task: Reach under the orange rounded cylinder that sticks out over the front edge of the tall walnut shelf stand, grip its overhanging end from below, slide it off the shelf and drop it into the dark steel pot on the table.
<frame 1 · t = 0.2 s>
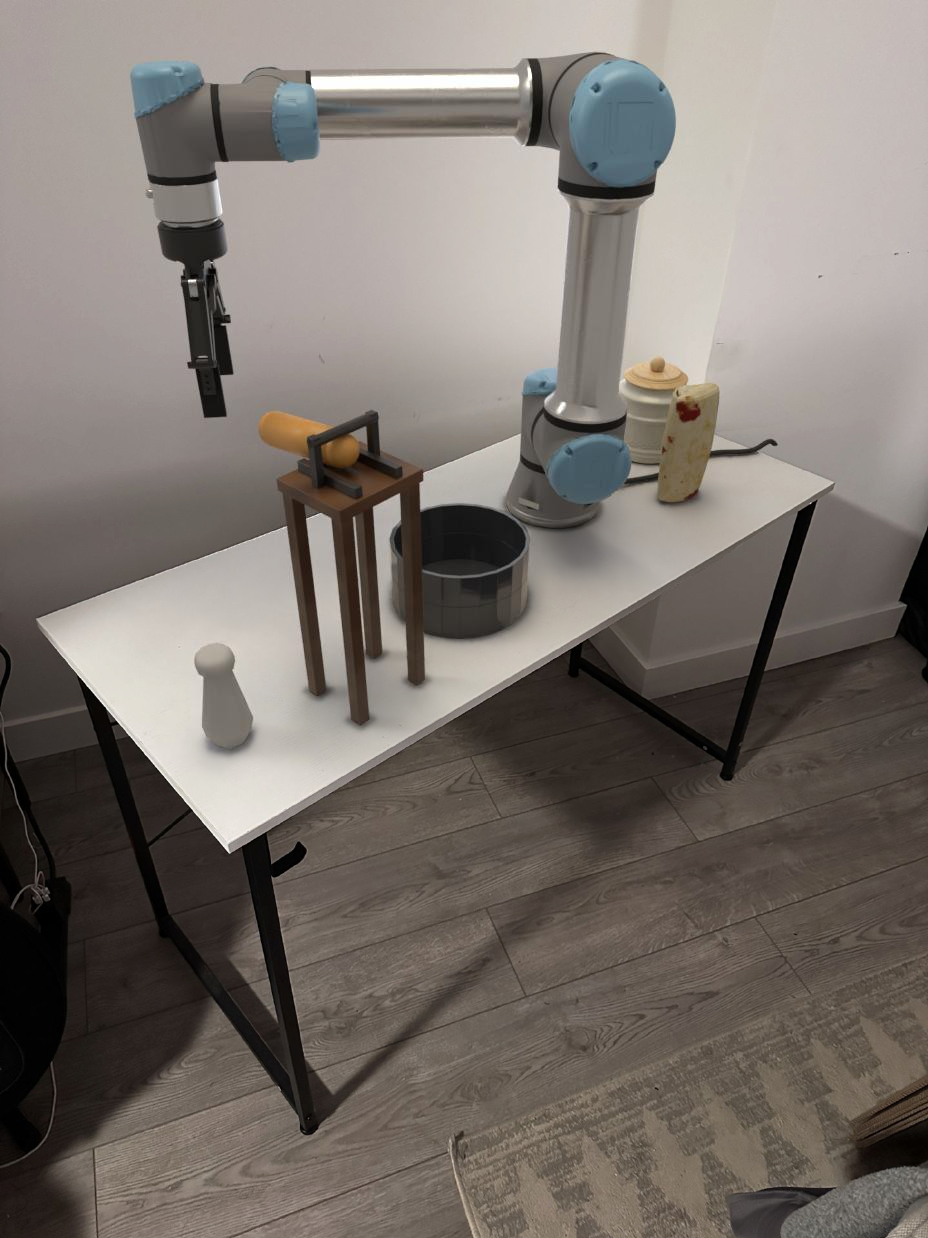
hand: (219, 394, 115), 28 cm above the table, tool pointing down, fingers open, 13 cm apart
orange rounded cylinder: (310, 455, 97), point 30 cm above the table, tilted 6°, touching shelf stand
food model: (677, 497, 151), on the table
salt shaker: (231, 737, 105), on the table
jar: (645, 450, 165), on the table
shelf stand: (367, 685, 112), on the table
pot: (459, 597, 127), on the table
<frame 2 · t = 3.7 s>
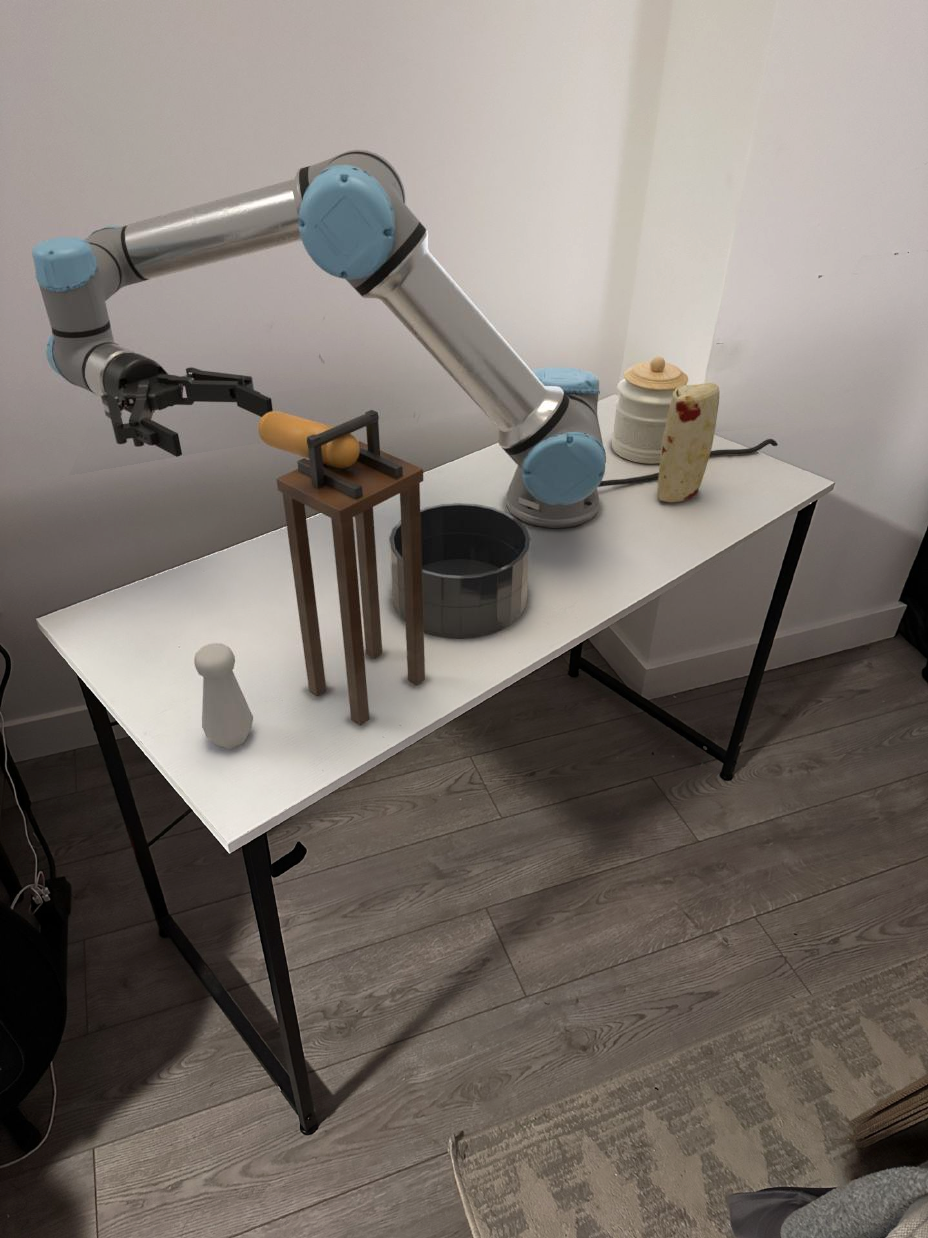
hand: (225, 426, 107), 28 cm above the table, tool horizontal, fingers open, 13 cm apart
nothing on the table moved.
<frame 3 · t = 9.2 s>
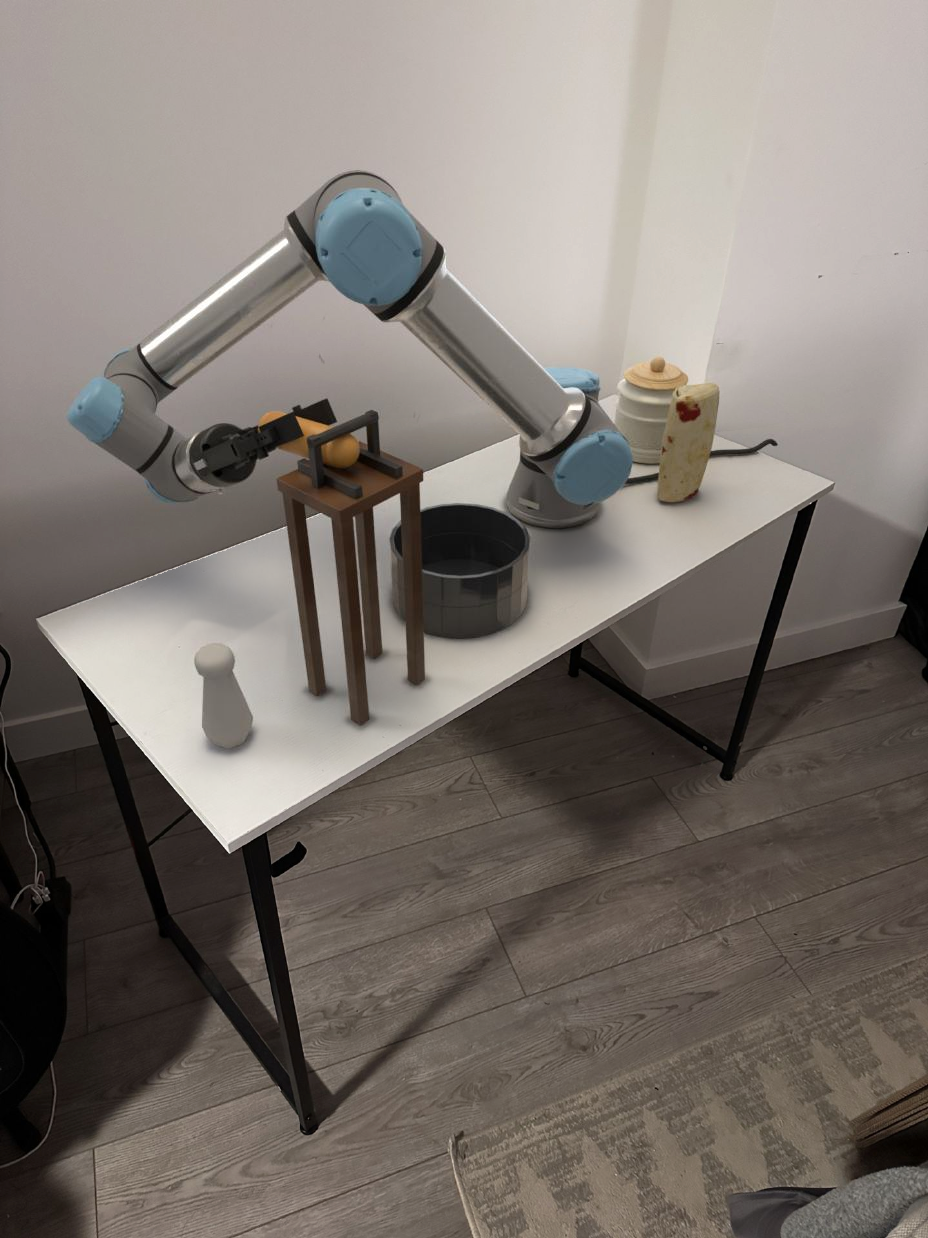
hand: (312, 417, 94), 35 cm above the table, tool pointing upward, fingers closed on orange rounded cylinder, 4 cm apart
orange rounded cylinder: (310, 455, 97), point 30 cm above the table, tilted 6°, touching gripper, shelf stand
everything else where it was.
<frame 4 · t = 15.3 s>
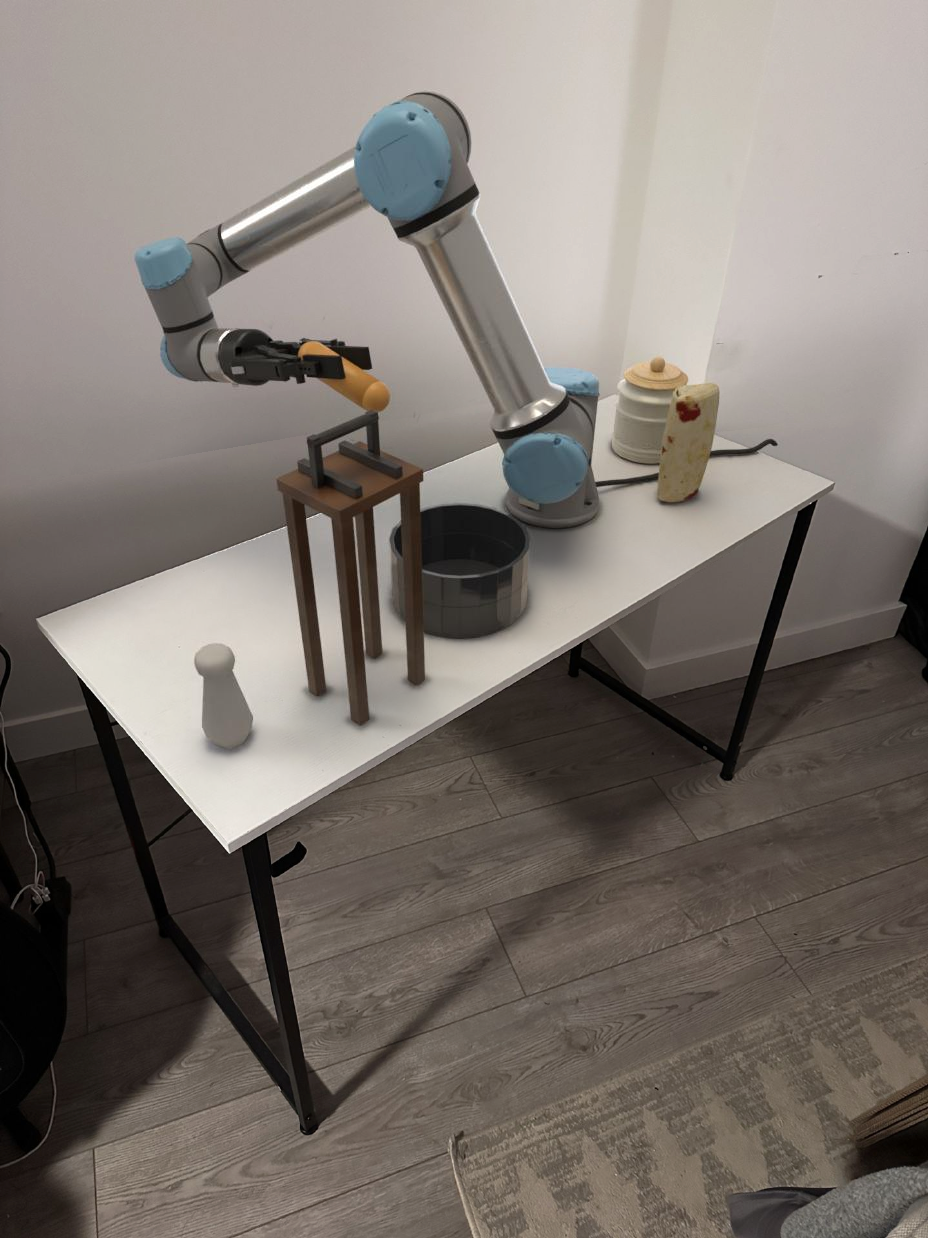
hand: (354, 362, 109), 34 cm above the table, tool horizontal, fingers closed on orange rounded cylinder, 4 cm apart
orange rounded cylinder: (341, 390, 113), point 29 cm above the table, tilted 12°, touching gripper
everything else where it was.
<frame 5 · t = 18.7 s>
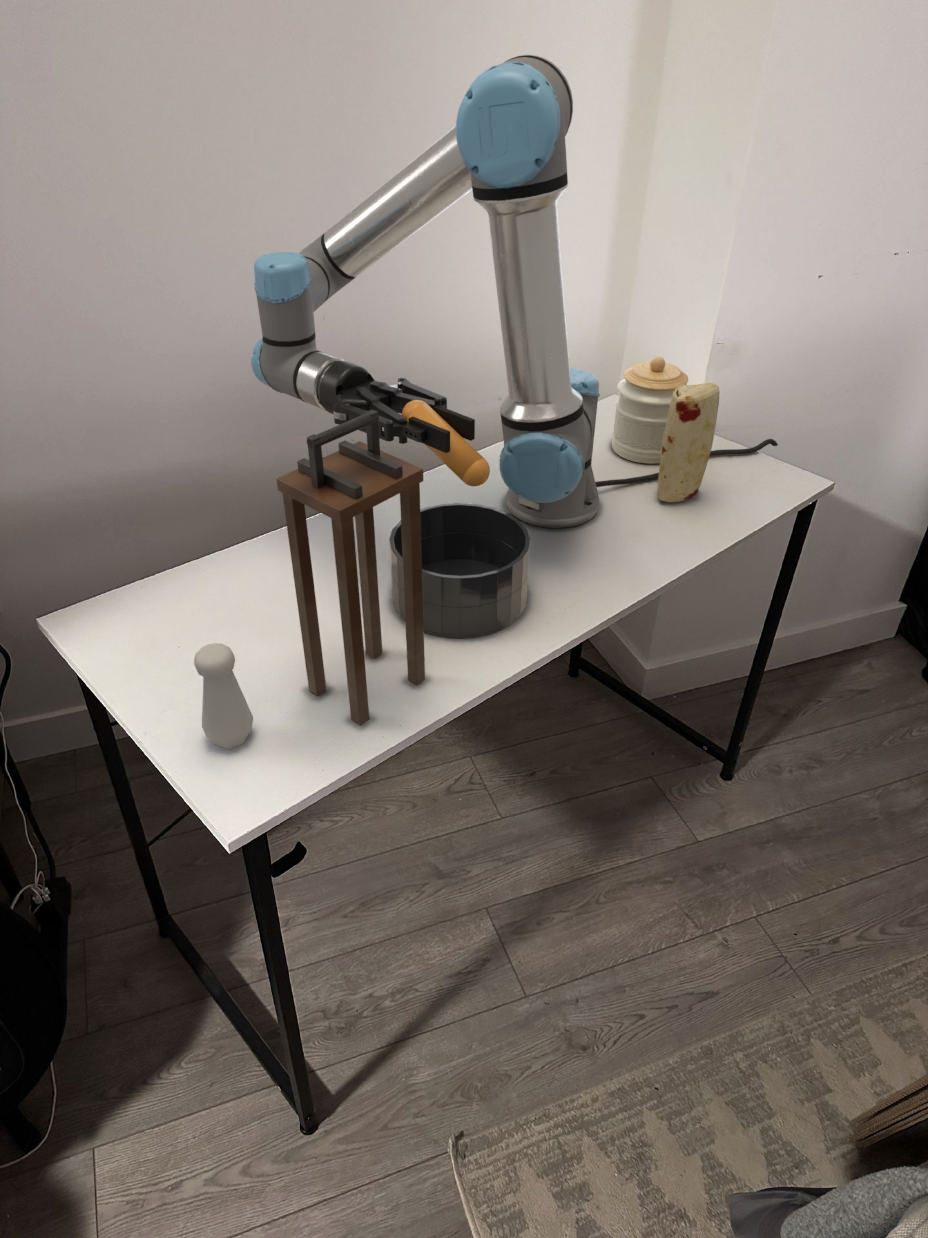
hand: (460, 436, 112), 25 cm above the table, tool horizontal, fingers closed on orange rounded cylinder, 4 cm apart
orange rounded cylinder: (440, 453, 116), point 22 cm above the table, tilted 24°, touching gripper
everything else where it was.
when the fingers open (16 cm above the table, at t = 21.8 s): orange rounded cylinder drops 11 cm, resting on pot.
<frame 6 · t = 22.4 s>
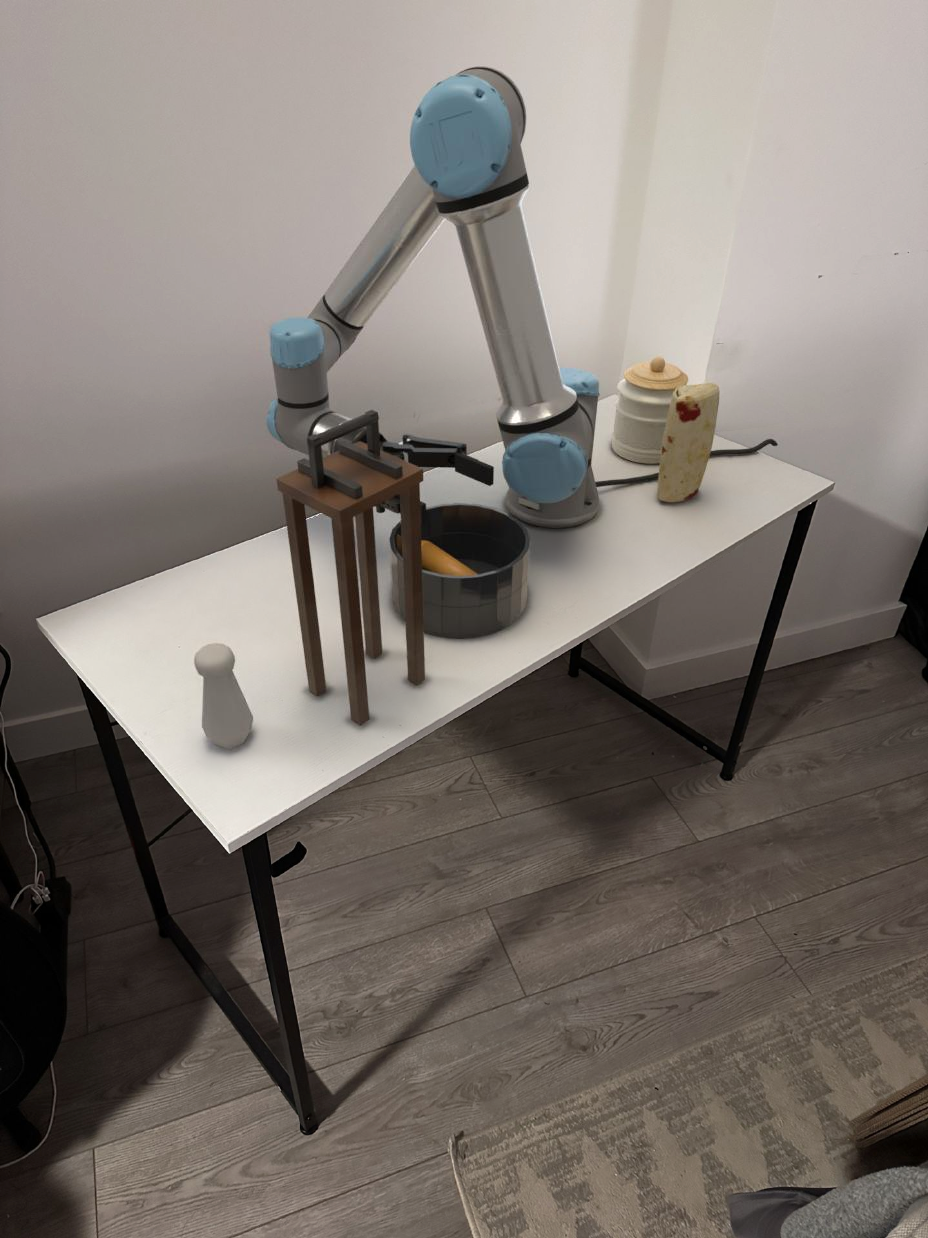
hand: (459, 494, 117), 17 cm above the table, tool horizontal, fingers open, 13 cm apart
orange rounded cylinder: (449, 583, 127), point 1 cm above the table, tilted 9°, touching pot
everything else where it was.
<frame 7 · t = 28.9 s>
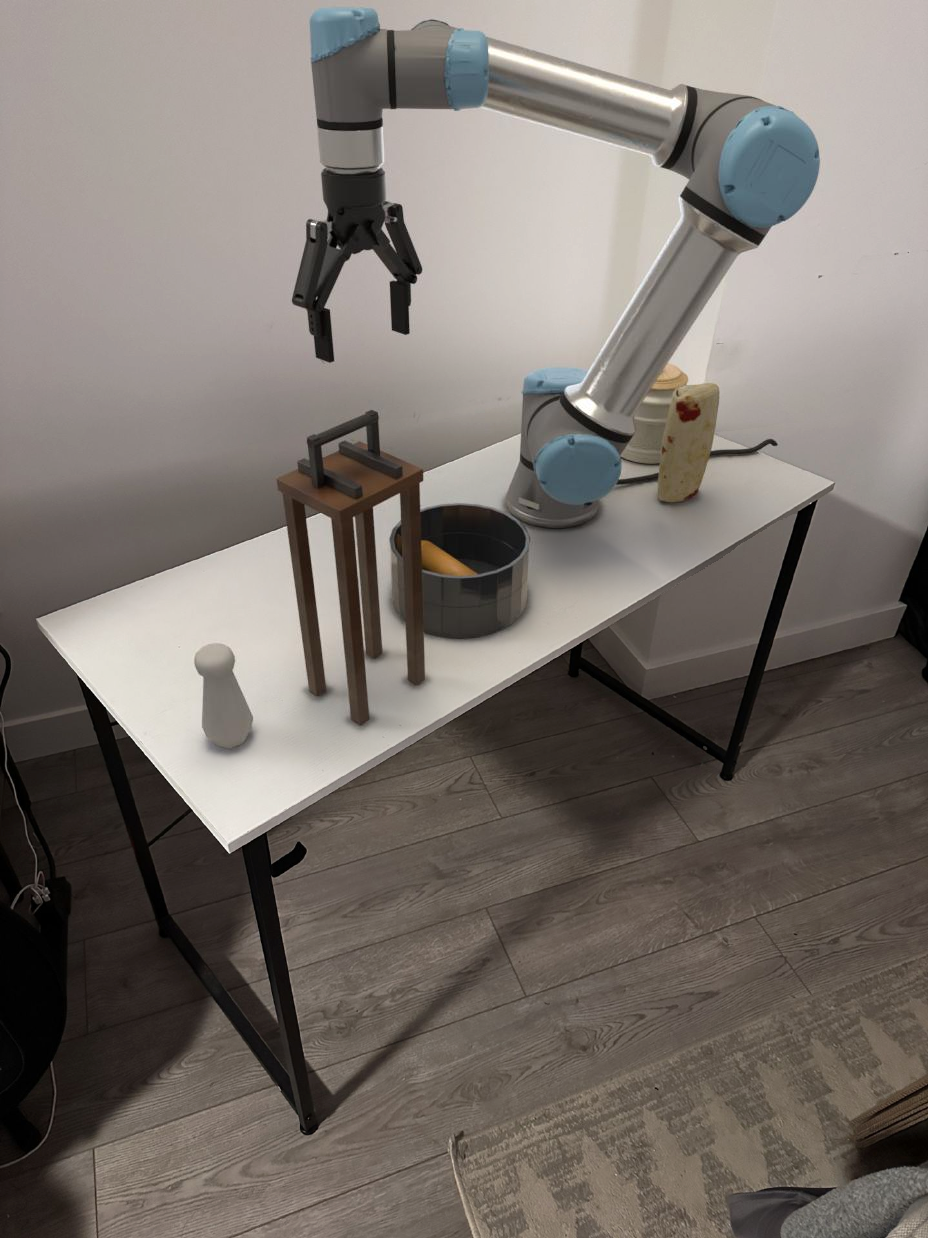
hand: (364, 345, 116), 33 cm above the table, tool pointing down, fingers open, 13 cm apart
nothing on the table moved.
at the end: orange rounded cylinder inside the target area in the pot (1.9 cm from its centre), point 1.5 cm above the pot's base; the gripper is holding nothing; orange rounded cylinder moved 36.0 cm from its start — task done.
